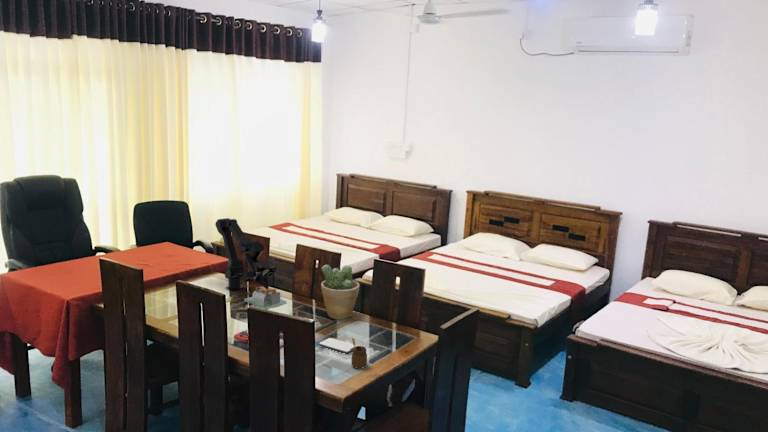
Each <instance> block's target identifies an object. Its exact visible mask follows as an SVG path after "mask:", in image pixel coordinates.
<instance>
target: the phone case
mask: <svg viewBox="0 0 768 432" xmlns="http://www.w3.org/2000/svg"><path fill="white" fill-rule="evenodd" d="M318 345H320V346H322V347H321V348H323V347H325V348H324V349H326V348H328V349H327V350H329V349H331V350H330V351H332V350H334V351H333V352H335V351H337V352H336V353H339V352H341V353H340V354H342V353H345V354H349V353H351V352H353V348H354V345H353V343H352V342H347V341H345V340H340V339H337V338H334V337H328V338H325V339H323V340H321V341H320V342H318V343H317V346H318ZM320 346H319V347H320ZM356 346H359V345H357V344H356V345H355V347H356ZM345 354H344V355H345ZM351 354H352V353H351ZM349 355H350V354H349Z"/></svg>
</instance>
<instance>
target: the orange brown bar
mask: <svg viewBox="0 0 768 432" xmlns="http://www.w3.org/2000/svg"><path fill="white" fill-rule="evenodd" d="M257 287H258V290H263V291H266V290H267V291H268V292H271V294H273V293H276V291H277V289H276V288H272V287H269V288H268V289H266V288H265V287H263V286H262V285H261V286H257Z"/></svg>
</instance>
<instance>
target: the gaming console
mask: <svg viewBox="0 0 768 432" xmlns="http://www.w3.org/2000/svg"><path fill="white" fill-rule="evenodd" d="M247 330H248V329H247ZM247 330H244V331H241V332H238V333H236V334H235V333H234V335H233V338H234V339H235V340H237V341H240V342H242V343H245V344H248V333H247Z"/></svg>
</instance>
